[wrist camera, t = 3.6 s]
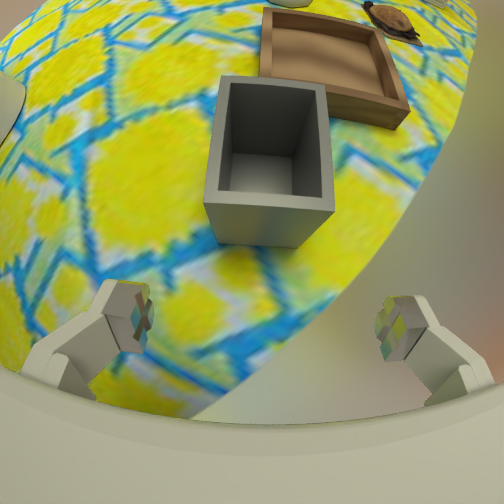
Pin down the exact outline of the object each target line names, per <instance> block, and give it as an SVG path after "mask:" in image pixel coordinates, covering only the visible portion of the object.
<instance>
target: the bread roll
mask: <svg viewBox="0 0 504 504" xmlns="http://www.w3.org/2000/svg"><path fill="white" fill-rule="evenodd" d="M361 6H362V8H363V9H364V11H365V12H366V14H367V15H368V16H369V17H370V19H371V21H372V22H373V23H374V25H375V26H377V27H378V29H380V31H381V32H382V33H383V34H384V36H386V37H387V38H389V39H393V40H397V41H402V42H405V43H409V44H413V45H416V46H420V47H423V45H422V43H421V42H420V40H419V39H418V38H417V36H419V37H420V35H419V34H418V33H416V32H415V31H414V28H413V26H412V24H411V22H410V21H409V19H408V18H407V17H406V15H405V14H404V13H402V12H401V10H398V9H396V8H394V7H391V6H387V5H373V2H371V1H365V2H364V4H361ZM416 35H417V36H416Z"/></svg>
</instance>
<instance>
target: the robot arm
mask: <svg viewBox="0 0 504 504" xmlns="http://www.w3.org/2000/svg"><path fill="white" fill-rule="evenodd" d="M25 93H26V90H25V86H24V85H23V84H22V83H20V82H17V81H16V80H14V79H12V78H10V77H9V76H7V75H6V74H4V73H3V72H2V71H1V70H0V144H1V143H2V141H3V140H4V138H5V137H6V135H7V134H8V132H9V131H10V129H11V127H12V126H13V124H14V122H15V120H16V118H17V116H18V114H19V112H20V110H21V108H22V105H23V102H24V99H25ZM149 294H150V289H149V286H148V284H146V283H139V282H131V281H123V280H113V279H106V280H105V281H104V282H103V283H102V285H101V287H100V289H99V290H98V292H97V294H96V296H95V298H94V299H93V301H92V303H91V305H90V307H89V309H88V311H87V312H86V311H83V312H81V313H80V314H78V315H77V316H75V317H74V318H72V319H71V320H69V321H68V322H66V323H65V324H63V325H62V326H60V327H59V328H57V329H56V330H54V331H53V332H51V333H50V334H48V335H47V336H45V337H44V338H42V339H41V340H40V341H38V342H37V343H35V344H34V345H33V347H32V349H31V351H30V353H29V355H28V357H27V359H26V361H25V363H24V365H23V367H22V369H21V371H20V373H19V374H18V373H16V372H14V371H11V370H9V369H7V368H5V367H3V366H1V365H0V504H504V382H501V383H499V384H495V382H494V380H493V377H492V375H491V373H490V371H489V368H488V366H487V364H486V362H485V360H484V359H483V358H482V357H481V356H480V355H478V354H477V353H476V352H475V351H474V350H472V349H471V348H470V347H469V346H468V345H466V344H465V343H464V342H463V341H461V340H460V339H459V338H458V337H456V336H455V335H454V334H453V333H451V332H450V331H449V330H448V329H446V328H445V327H444V326H442V327H441V326H440V324H439V322H438V321H437V319H436V317H435V315H434V313H433V311H432V309H431V308H430V306H429V304H428V302H427V300H426V299H425V297H424V296H422V295H411V296H387V297H386V298H385V300H384V302H383V307H384V309H382V310H381V311H380V312H379V313H378V314H377V317H376V319H375V325H374V327H375V334H376V336H377V338H378V339H379V340H380V341H381V342H382V344H381V346H380V348H381V351H382V354H383V358H384V360H385V362H388V361H401V360H404V362H405V363H406V364H407V366H408V367H409V368H410V369H411V370H412V371H413V372H414V373H415V374H416V375H417V377H418V378H419V379H420V380H421V381H422V382H423V383H424V385H425V386H426V387H427V388H428V389H429V390H430V391H431V392H432V395H431V396H430V397H429V398H428V399H427V400H426V401H425V403H424V406H425V407H423V408H418V409H414V410H410V411H405V412H400V413H395V414H389V415H384V416H378V417H371V418H364V419H357V420H348V421H338V422H327V423H313V424H287V425H259V424H258V425H257V424H233V423H219V422H207V421H198V420H189V419H182V418H174V417H168V416H162V415H156V414H150V413H145V412H140V411H135V410H130V409H126V408H121V407H117V406H113V405H109V404H105V403H101V402H98V401H96V396H95V394H94V393H93V392H92V390H91V389H90V388H89V386H88V385H87V384H88V383H89V382H90V381H91V380H92V379H93V378H94V377H95V376H96V375H97V374H98V373H99V372H100V371H101V370H102V369H103V368H104V367H105V366H106V365H107V364H108V363H109V362H111V361H112V360H113V359H114V358H115V357H116V356H117V355H118V354H119V353H120V351H125V352H132V353H139V354H143V352H144V349H145V346H146V342H147V339H148V338H147V335H146V332H147V331H148V330H150V329H151V327H152V323H153V317H154V307H153V303H152V301H151V300H150V299H149V298H148V297H149Z"/></svg>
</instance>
